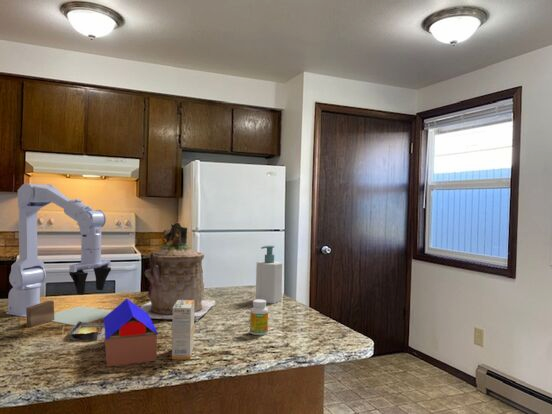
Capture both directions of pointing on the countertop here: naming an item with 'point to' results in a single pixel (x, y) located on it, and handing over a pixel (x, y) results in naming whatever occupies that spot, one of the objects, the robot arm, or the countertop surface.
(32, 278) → the robot arm
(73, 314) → the mat
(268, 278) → the soap bottle
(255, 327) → the supplement bottle
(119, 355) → the house
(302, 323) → the countertop surface
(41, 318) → the walnut slab
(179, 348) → the supplement box
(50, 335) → the countertop surface
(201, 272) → the brown textured pot
